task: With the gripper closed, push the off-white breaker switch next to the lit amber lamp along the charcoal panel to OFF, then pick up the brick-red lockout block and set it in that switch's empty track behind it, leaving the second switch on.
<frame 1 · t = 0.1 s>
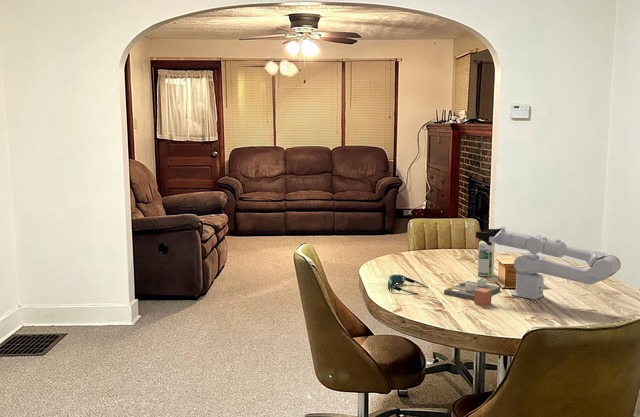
hand: (480, 233, 240), 22 cm above the table, tool horizontal, fingers open, 7 cm apart
breaker panel: (472, 292, 234), on the table
lockout block: (482, 303, 220), on the table
syrup box: (485, 275, 261), on the table
sunglasses: (406, 290, 240), on the table
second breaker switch: (481, 282, 237), point 3 cm above the table, slide at 0.0 cm
tagged breaker switch: (470, 286, 231), point 3 cm above the table, slide at 0.0 cm
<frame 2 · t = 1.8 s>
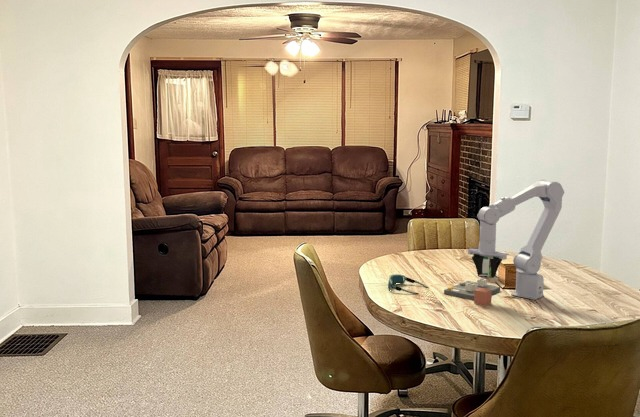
hand: (486, 275, 226), 8 cm above the table, tool pointing down, fingers open, 5 cm apart
nothing on the table moved.
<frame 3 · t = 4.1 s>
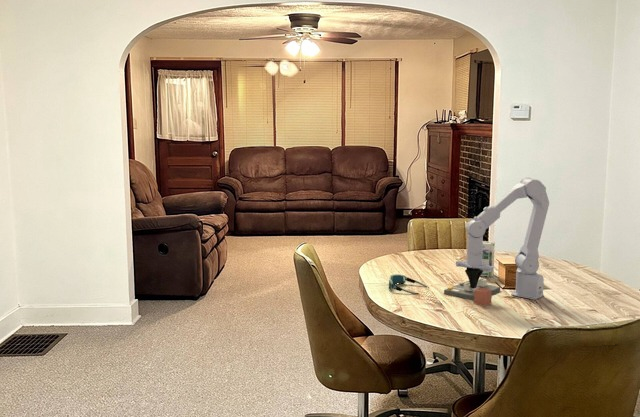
hand: (473, 287, 230), 3 cm above the table, tool pointing down, fingers closed
tagged breaker switch: (468, 286, 231), point 3 cm above the table, slide at 0.8 cm, touching gripper
everything else where it was.
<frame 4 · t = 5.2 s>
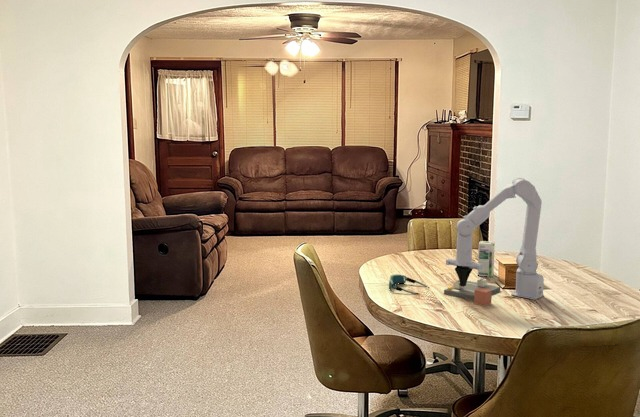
hand: (463, 285, 233), 3 cm above the table, tool pointing down, fingers closed
tagged breaker switch: (458, 284, 234), point 3 cm above the table, slide at 5.2 cm, touching gripper
everything else where it was.
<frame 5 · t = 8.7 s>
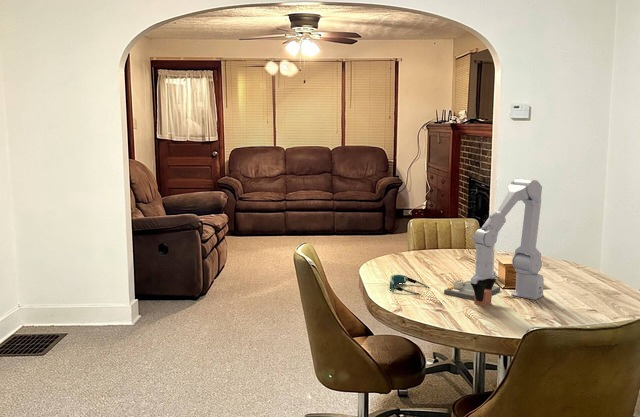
hand: (482, 299, 220), 1 cm above the table, tool pointing down, fingers closed on lockout block, 4 cm apart
lockout block: (482, 303, 220), on the table, touching gripper
tagged breaker switch: (458, 284, 234), point 3 cm above the table, slide at 5.2 cm
everything else where it was.
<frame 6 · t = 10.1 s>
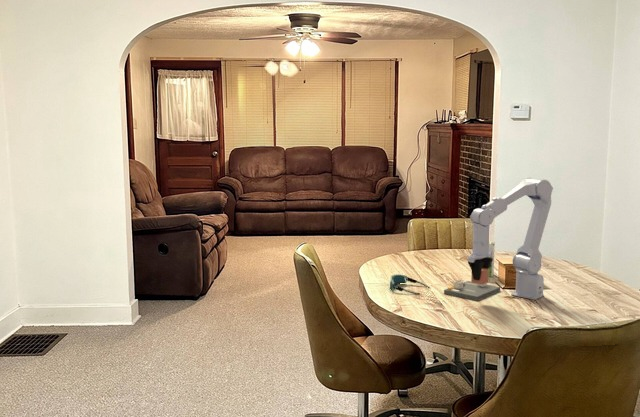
hand: (479, 278, 222), 8 cm above the table, tool pointing down, fingers closed on lockout block, 4 cm apart
lockout block: (479, 282, 222), point 7 cm above the table, touching gripper
everything else where it was.
when the fingers open (4 cm above the table, at t = 11.9 s): lockout block stays where it is, resting on breaker panel.
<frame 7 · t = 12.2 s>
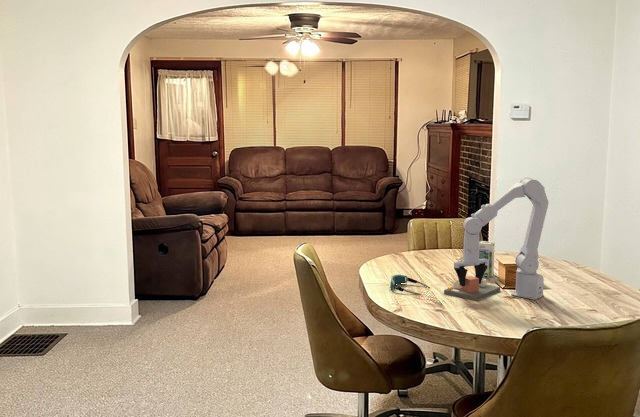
hand: (470, 284, 231), 4 cm above the table, tool pointing down, fingers open, 7 cm apart
lockout block: (470, 290, 231), point 2 cm above the table, touching breaker panel
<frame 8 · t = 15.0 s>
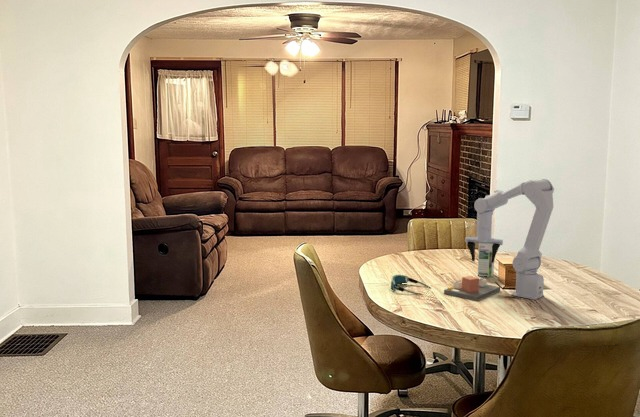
hand: (483, 261, 245), 9 cm above the table, tool pointing down, fingers open, 7 cm apart
at the end: tagged breaker switch slide at 5.2 cm; lockout block 0.6 cm from the target spot, point 1.5 cm above the table; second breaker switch slide at 0.0 cm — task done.
